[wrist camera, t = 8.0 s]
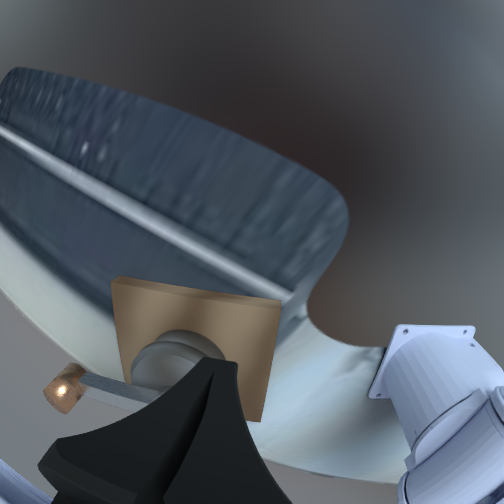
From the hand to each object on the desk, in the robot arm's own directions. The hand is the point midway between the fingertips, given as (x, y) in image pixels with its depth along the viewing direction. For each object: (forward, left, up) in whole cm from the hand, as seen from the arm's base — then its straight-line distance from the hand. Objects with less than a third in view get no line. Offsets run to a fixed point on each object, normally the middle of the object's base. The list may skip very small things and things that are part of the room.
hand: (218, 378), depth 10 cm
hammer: (+8, +7, -5) cm, 12 cm away
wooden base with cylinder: (+4, +7, -10) cm, 13 cm away
